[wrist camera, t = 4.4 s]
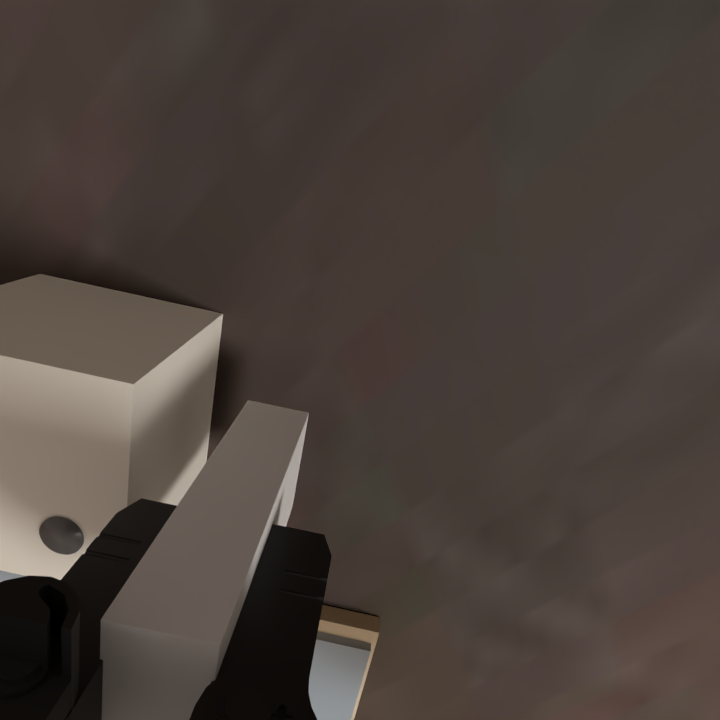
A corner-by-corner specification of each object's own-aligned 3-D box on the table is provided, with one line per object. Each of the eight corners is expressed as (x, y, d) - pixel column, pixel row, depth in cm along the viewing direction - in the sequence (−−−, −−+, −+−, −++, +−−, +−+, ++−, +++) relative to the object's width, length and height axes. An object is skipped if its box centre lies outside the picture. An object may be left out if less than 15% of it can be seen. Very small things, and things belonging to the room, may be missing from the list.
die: (42, 273, 14) (-143, 325, 9) (223, 312, 14) (131, 385, 9) (44, 434, 16) (-110, 547, 11) (205, 470, 16) (121, 598, 11)
